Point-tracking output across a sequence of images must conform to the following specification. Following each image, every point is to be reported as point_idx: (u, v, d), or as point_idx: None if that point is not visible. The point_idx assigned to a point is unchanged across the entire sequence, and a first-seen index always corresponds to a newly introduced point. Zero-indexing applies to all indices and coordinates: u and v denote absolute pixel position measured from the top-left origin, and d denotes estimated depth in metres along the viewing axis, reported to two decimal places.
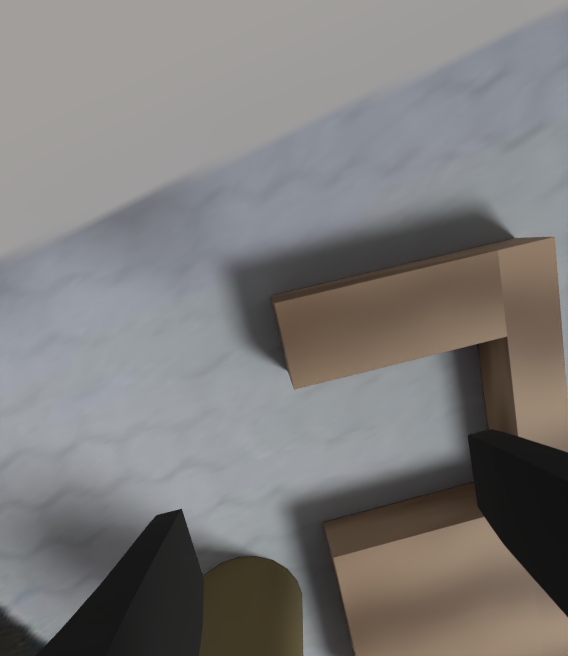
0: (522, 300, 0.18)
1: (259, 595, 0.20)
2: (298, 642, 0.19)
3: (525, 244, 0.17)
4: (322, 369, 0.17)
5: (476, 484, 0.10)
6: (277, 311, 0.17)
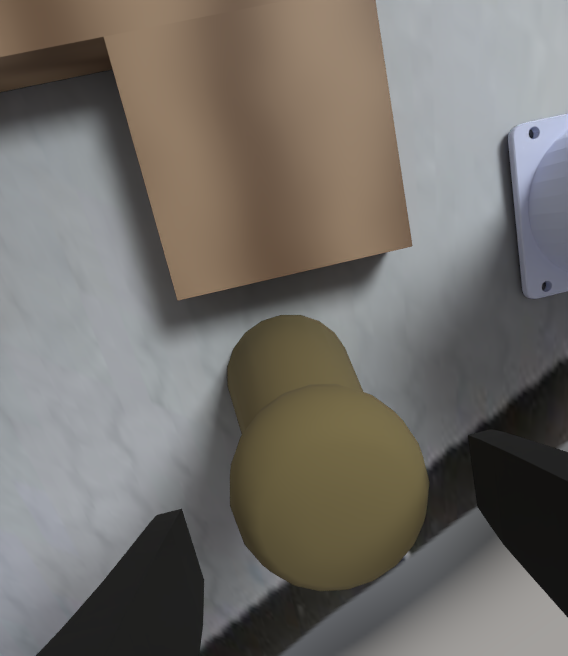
0: None
1: (233, 378, 0.18)
2: (271, 344, 0.16)
3: None
4: None
5: (476, 484, 0.10)
6: None
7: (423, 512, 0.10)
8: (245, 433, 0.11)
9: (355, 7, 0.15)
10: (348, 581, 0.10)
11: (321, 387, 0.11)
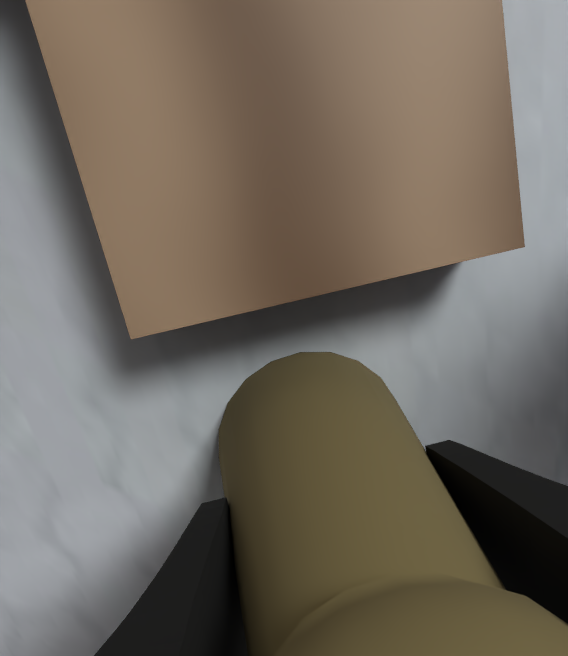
0: None
1: (226, 461, 0.11)
2: (291, 415, 0.10)
3: None
4: None
5: None
6: None
7: None
8: None
9: None
10: None
11: (451, 628, 0.04)
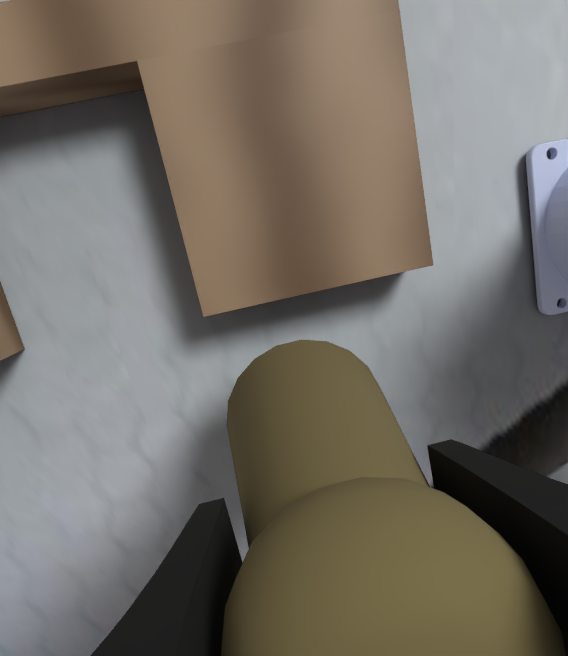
0: None
1: (235, 422, 0.13)
2: (291, 384, 0.12)
3: None
4: None
5: None
6: None
7: None
8: (253, 561, 0.06)
9: (382, 33, 0.15)
10: None
11: (386, 491, 0.06)
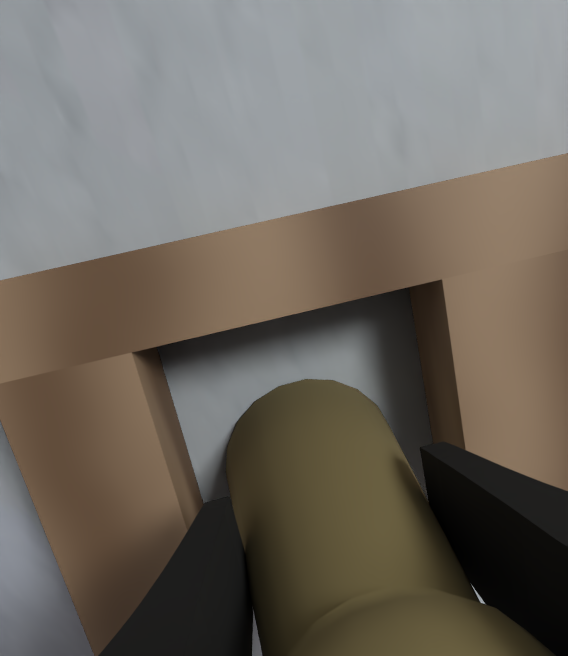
0: (67, 334, 0.10)
1: (236, 477, 0.12)
2: (300, 440, 0.11)
3: None
4: None
5: (429, 496, 0.10)
6: None
7: None
8: None
9: None
10: None
11: (438, 630, 0.05)
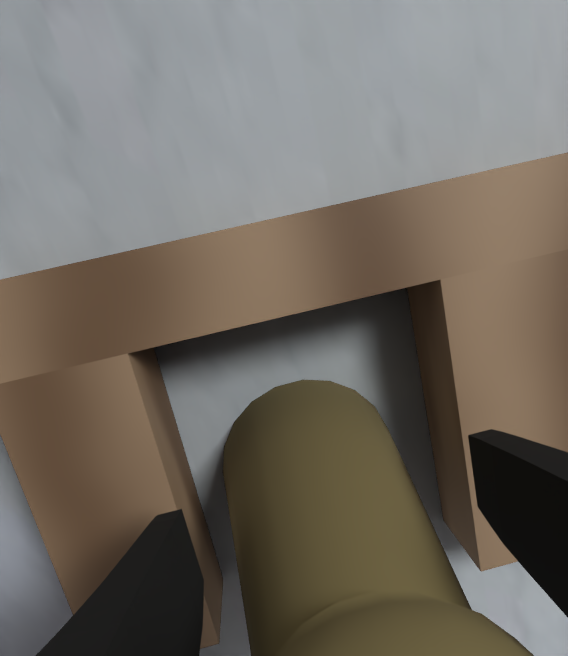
0: (63, 335, 0.10)
1: (232, 478, 0.12)
2: (294, 442, 0.11)
3: None
4: None
5: (476, 484, 0.10)
6: None
7: None
8: None
9: None
10: None
11: (420, 636, 0.05)
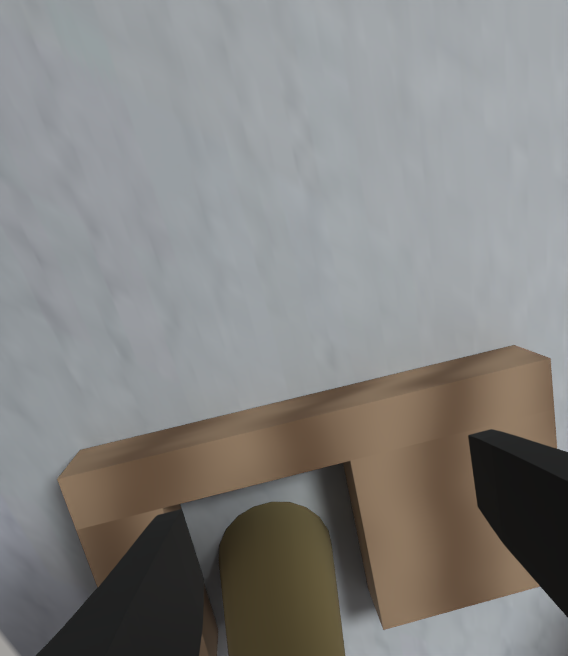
0: (124, 499, 0.18)
1: (224, 575, 0.19)
2: (261, 560, 0.18)
3: (68, 504, 0.17)
4: None
5: (476, 484, 0.10)
6: None
7: None
8: None
9: (539, 425, 0.19)
10: None
11: None
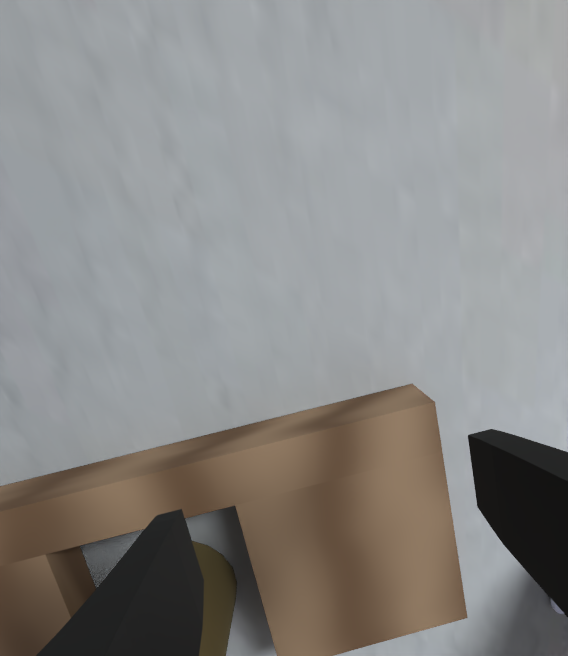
0: (6, 546, 0.18)
1: None
2: None
3: None
4: None
5: (476, 484, 0.10)
6: None
7: None
8: None
9: (428, 468, 0.19)
10: None
11: None
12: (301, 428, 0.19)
